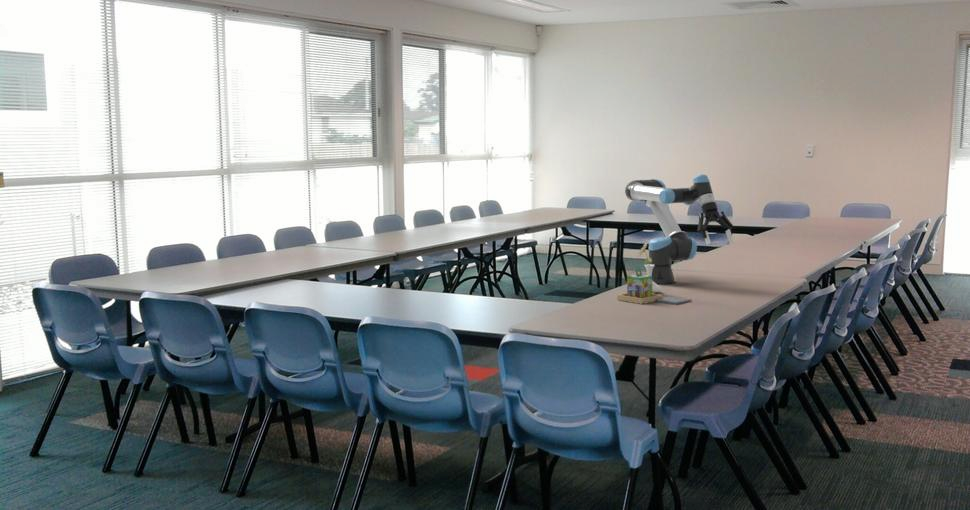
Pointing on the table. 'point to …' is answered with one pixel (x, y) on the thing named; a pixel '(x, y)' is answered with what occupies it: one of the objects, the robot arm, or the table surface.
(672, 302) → the charcoal mat
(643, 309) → the table surface
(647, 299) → the light wooden square frame
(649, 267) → the flower in vase
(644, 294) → the chalk box
